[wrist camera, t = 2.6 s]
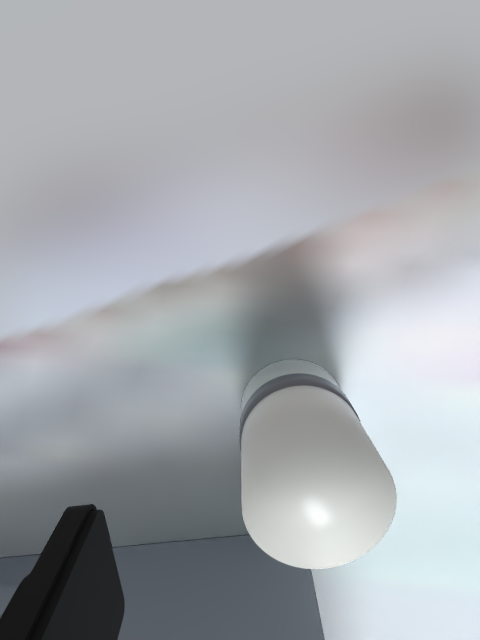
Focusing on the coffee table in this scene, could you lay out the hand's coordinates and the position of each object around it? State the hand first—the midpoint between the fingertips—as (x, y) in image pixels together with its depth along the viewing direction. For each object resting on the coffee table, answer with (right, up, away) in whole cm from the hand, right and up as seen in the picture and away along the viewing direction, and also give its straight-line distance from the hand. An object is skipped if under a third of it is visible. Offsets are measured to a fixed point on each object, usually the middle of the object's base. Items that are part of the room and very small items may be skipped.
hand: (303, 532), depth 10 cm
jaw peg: (+1, +1, +7) cm, 7 cm away
